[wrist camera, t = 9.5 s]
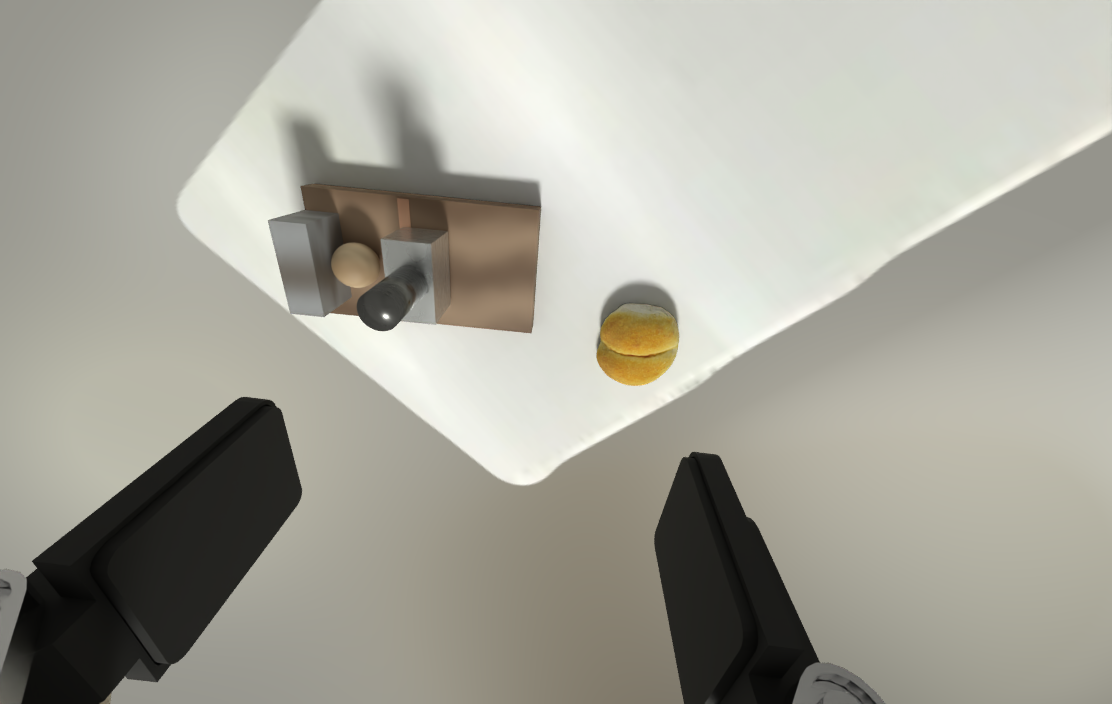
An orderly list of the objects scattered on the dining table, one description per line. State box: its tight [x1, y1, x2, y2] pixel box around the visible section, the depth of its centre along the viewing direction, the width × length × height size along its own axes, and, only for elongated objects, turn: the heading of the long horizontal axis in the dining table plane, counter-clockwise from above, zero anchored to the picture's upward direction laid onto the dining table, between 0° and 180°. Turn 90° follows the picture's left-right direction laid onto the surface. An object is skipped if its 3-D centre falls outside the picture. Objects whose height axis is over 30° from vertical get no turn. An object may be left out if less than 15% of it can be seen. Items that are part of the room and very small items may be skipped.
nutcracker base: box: [268, 184, 541, 333], centre depth 37 cm, size 12×21×7 cm, turn 85°
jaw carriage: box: [357, 227, 451, 331], centre depth 33 cm, size 7×4×11 cm, turn 175°
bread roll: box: [597, 303, 679, 386], centre depth 42 cm, size 8×9×4 cm
